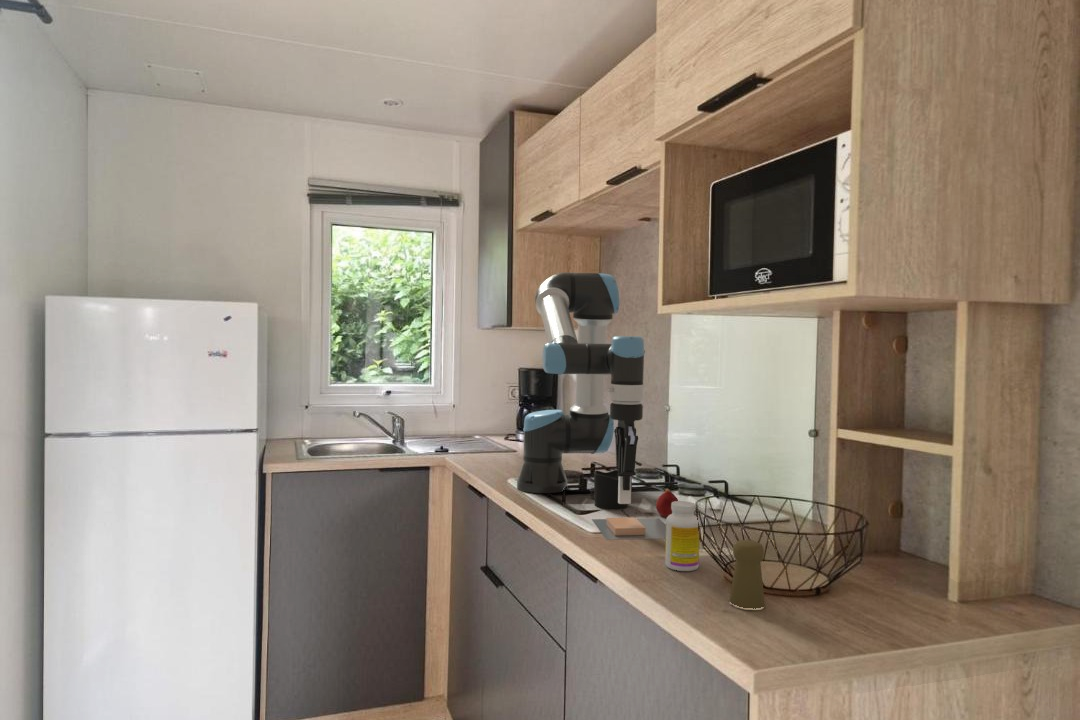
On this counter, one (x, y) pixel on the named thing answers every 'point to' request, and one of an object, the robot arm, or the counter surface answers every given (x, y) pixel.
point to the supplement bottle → (682, 537)
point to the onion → (665, 503)
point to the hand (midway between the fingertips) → (624, 503)
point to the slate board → (653, 531)
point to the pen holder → (607, 490)
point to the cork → (747, 575)
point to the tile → (625, 526)
